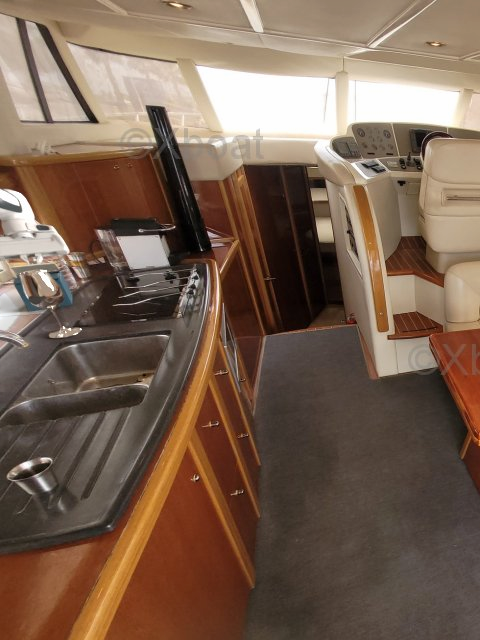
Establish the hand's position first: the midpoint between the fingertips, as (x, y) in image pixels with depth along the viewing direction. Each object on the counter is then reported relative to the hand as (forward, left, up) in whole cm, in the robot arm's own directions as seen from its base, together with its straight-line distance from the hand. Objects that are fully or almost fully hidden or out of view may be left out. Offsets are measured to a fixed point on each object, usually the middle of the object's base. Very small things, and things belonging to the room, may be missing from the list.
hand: (35, 266), depth 139 cm
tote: (+3, -3, -12) cm, 13 cm away
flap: (0, 0, 0) cm, 1 cm away
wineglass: (+29, -25, -12) cm, 40 cm away
